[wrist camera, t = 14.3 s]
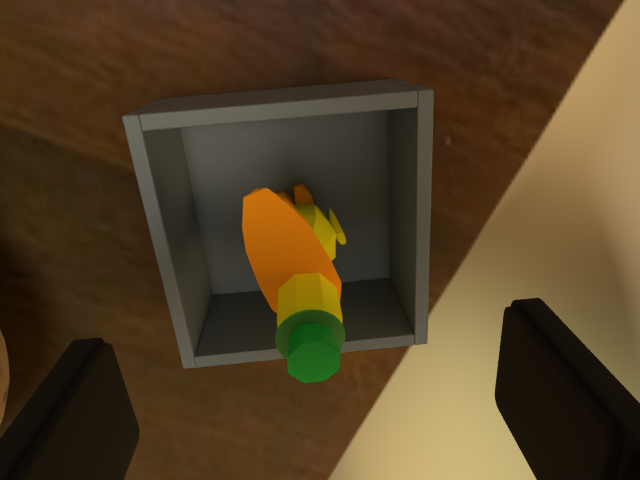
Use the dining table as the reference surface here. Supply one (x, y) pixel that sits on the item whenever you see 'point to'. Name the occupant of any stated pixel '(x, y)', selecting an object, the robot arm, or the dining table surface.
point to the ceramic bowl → (3, 376)
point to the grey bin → (283, 174)
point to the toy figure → (298, 277)
